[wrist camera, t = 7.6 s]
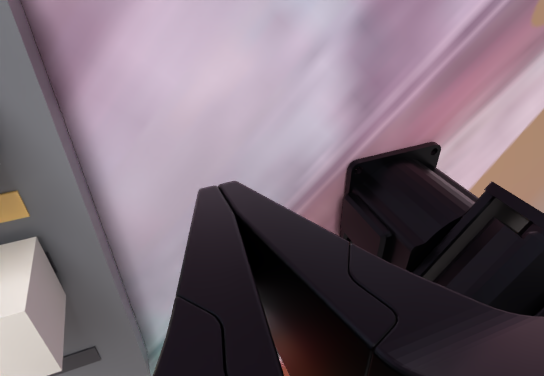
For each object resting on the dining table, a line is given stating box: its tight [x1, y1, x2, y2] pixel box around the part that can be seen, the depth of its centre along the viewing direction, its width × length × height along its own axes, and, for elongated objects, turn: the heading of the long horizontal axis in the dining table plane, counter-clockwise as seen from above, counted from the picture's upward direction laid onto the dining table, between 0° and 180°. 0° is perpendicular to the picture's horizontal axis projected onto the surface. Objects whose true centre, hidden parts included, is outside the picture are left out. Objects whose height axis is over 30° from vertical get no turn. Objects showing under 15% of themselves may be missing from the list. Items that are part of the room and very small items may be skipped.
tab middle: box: [0, 237, 66, 376], centre depth 14 cm, size 3×4×4 cm
